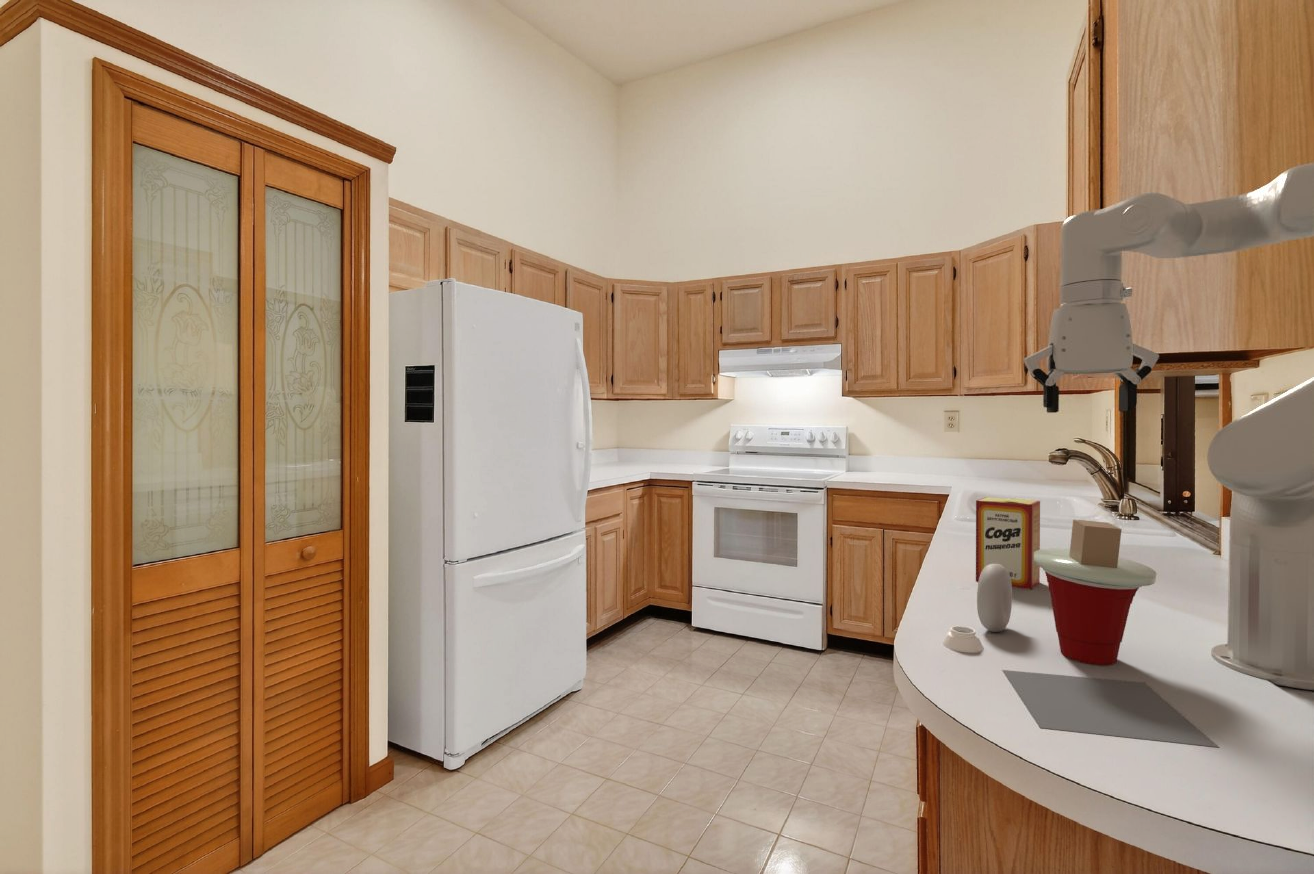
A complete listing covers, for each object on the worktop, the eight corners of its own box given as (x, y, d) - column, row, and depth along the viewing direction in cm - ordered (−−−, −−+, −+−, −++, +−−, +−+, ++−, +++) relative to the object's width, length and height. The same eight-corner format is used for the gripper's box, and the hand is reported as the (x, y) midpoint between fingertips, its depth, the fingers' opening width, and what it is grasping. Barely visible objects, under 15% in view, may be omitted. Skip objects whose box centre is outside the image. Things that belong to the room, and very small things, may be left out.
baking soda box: (975, 581, 122) (976, 498, 122) (985, 574, 127) (985, 495, 126) (1031, 589, 116) (1032, 502, 115) (1039, 582, 121) (1040, 499, 120)
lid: (1127, 562, 86) (1132, 519, 86) (1177, 592, 74) (1183, 541, 73) (1021, 551, 89) (1025, 509, 89) (1052, 578, 77) (1057, 529, 76)
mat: (1144, 687, 74) (1144, 682, 74) (1219, 753, 59) (1219, 747, 59) (1002, 674, 78) (1002, 669, 78) (1040, 733, 64) (1040, 727, 64)
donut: (989, 619, 99) (989, 556, 99) (1014, 624, 97) (1014, 559, 96) (973, 637, 91) (974, 568, 91) (1000, 642, 89) (1000, 572, 89)
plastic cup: (1132, 686, 74) (1133, 585, 74) (1030, 661, 82) (1030, 569, 82) (1150, 661, 82) (1151, 569, 81) (1054, 640, 90) (1055, 556, 89)
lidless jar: (968, 643, 89) (935, 645, 89) (968, 622, 89) (935, 624, 89) (991, 656, 84) (956, 658, 84) (991, 635, 84) (956, 636, 84)
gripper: (1145, 298, 96) (1143, 411, 96) (1018, 305, 100) (1017, 412, 101) (1171, 289, 88) (1169, 411, 89) (1033, 296, 93) (1031, 412, 94)
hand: (1088, 412), depth 95 cm, fingers open, 9 cm apart
